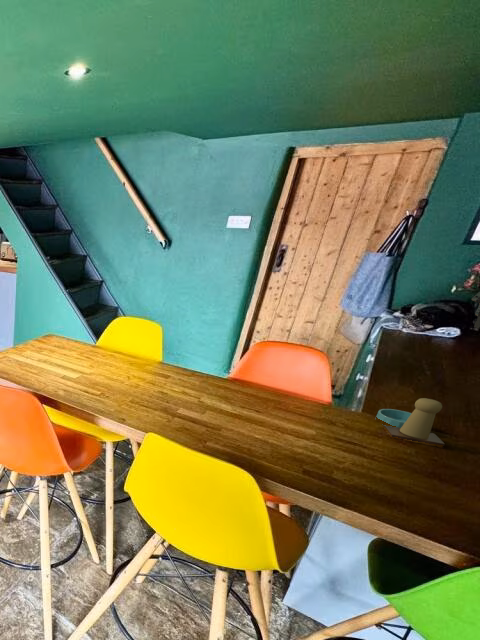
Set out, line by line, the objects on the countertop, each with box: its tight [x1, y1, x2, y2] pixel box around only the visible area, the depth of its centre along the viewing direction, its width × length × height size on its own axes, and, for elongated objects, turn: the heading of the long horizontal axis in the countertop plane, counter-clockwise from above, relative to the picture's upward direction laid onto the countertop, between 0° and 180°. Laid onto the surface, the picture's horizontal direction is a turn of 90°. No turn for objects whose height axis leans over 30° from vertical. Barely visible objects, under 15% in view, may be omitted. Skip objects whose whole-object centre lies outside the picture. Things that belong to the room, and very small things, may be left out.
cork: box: [400, 397, 443, 439], centre depth 117 cm, size 6×6×11 cm
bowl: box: [375, 408, 412, 428], centre depth 127 cm, size 11×11×3 cm
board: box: [383, 425, 445, 447], centre depth 119 cm, size 11×7×2 cm, turn 60°
